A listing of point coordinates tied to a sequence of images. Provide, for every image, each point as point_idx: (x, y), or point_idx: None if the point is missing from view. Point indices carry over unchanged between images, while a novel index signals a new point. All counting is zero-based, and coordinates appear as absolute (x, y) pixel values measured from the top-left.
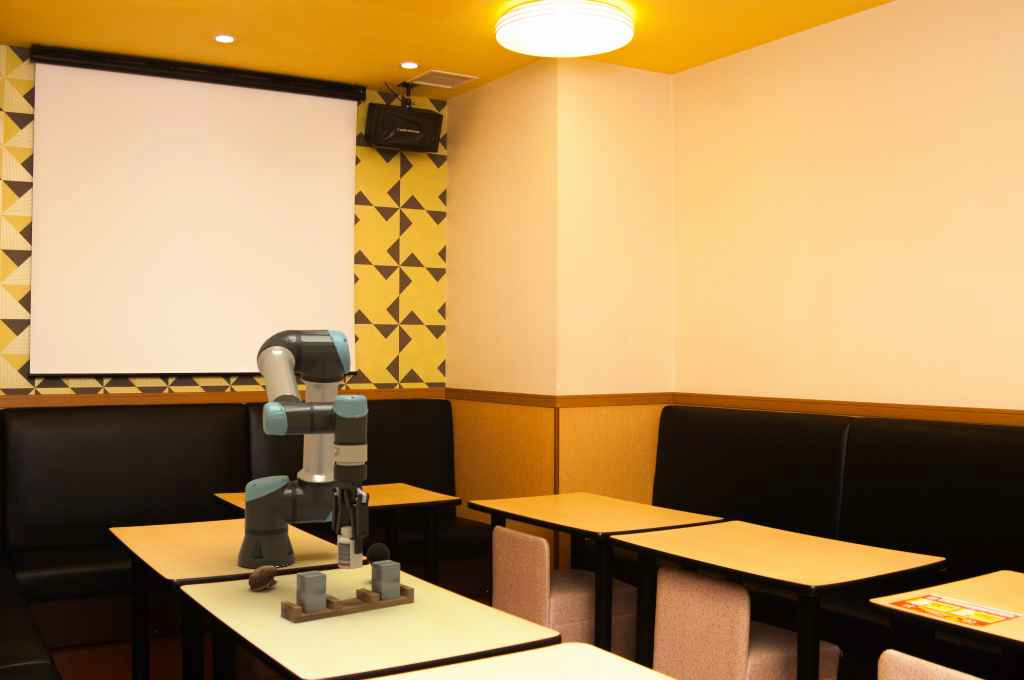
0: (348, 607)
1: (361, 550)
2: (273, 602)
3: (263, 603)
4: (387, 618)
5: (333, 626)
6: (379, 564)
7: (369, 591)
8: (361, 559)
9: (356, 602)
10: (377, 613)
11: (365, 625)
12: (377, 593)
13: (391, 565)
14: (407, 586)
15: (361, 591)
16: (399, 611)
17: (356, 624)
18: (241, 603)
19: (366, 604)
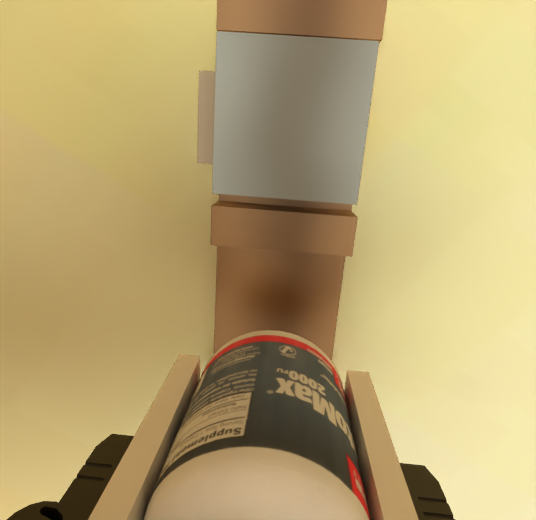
0: (322, 335)
1: (441, 498)
2: (47, 423)
3: (43, 447)
4: (483, 266)
5: (420, 439)
6: (300, 187)
7: (282, 221)
8: (379, 412)
9: (280, 274)
10: (400, 254)
11: (491, 368)
12: (338, 215)
13: (366, 124)
14: (326, 2)
15: (257, 248)
16: (442, 172)
17: (458, 382)
18: (9, 487)
19: (332, 263)
